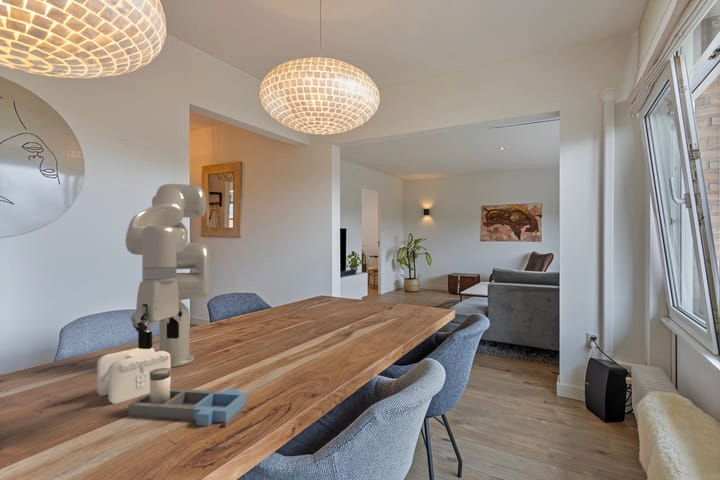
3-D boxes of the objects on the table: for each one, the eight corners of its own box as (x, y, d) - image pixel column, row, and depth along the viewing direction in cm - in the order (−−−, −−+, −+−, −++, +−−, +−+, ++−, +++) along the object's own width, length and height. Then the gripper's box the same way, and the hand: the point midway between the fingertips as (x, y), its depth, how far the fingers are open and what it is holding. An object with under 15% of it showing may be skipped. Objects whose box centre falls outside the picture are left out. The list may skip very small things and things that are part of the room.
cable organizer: (155, 381, 108) (155, 343, 108) (171, 390, 102) (171, 349, 102) (96, 399, 96) (96, 356, 96) (110, 410, 90) (110, 364, 90)
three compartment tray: (121, 423, 83) (121, 408, 83) (163, 397, 97) (163, 384, 97) (221, 431, 79) (221, 415, 79) (249, 403, 93) (249, 389, 93)
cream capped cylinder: (145, 410, 87) (145, 373, 87) (158, 402, 92) (158, 367, 92) (162, 411, 86) (161, 374, 86) (174, 403, 91) (174, 368, 91)
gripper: (169, 272, 98) (169, 334, 98) (118, 277, 81) (118, 352, 81) (194, 272, 97) (194, 335, 97) (147, 277, 80) (147, 353, 80)
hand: (159, 343), depth 89 cm, fingers open, 9 cm apart
